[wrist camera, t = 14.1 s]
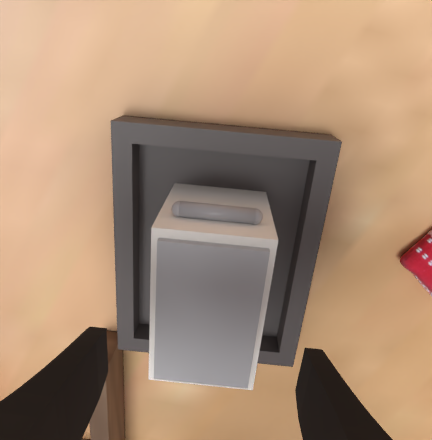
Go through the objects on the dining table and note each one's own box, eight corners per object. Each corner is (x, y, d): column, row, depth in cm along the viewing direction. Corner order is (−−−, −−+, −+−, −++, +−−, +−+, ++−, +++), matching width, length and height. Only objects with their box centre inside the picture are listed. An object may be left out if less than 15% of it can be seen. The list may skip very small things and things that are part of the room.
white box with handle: (267, 180, 19) (281, 227, 14) (248, 312, 23) (253, 395, 17) (175, 171, 19) (150, 215, 14) (169, 303, 23) (147, 384, 17)
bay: (122, 332, 25) (105, 372, 21) (125, 453, 29) (111, 500, 26) (-114, 309, 25) (-167, 345, 22) (-73, 433, 30) (-111, 477, 26)
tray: (331, 134, 19) (341, 141, 17) (288, 344, 24) (292, 366, 22) (122, 115, 19) (110, 120, 17) (126, 328, 24) (117, 349, 23)
